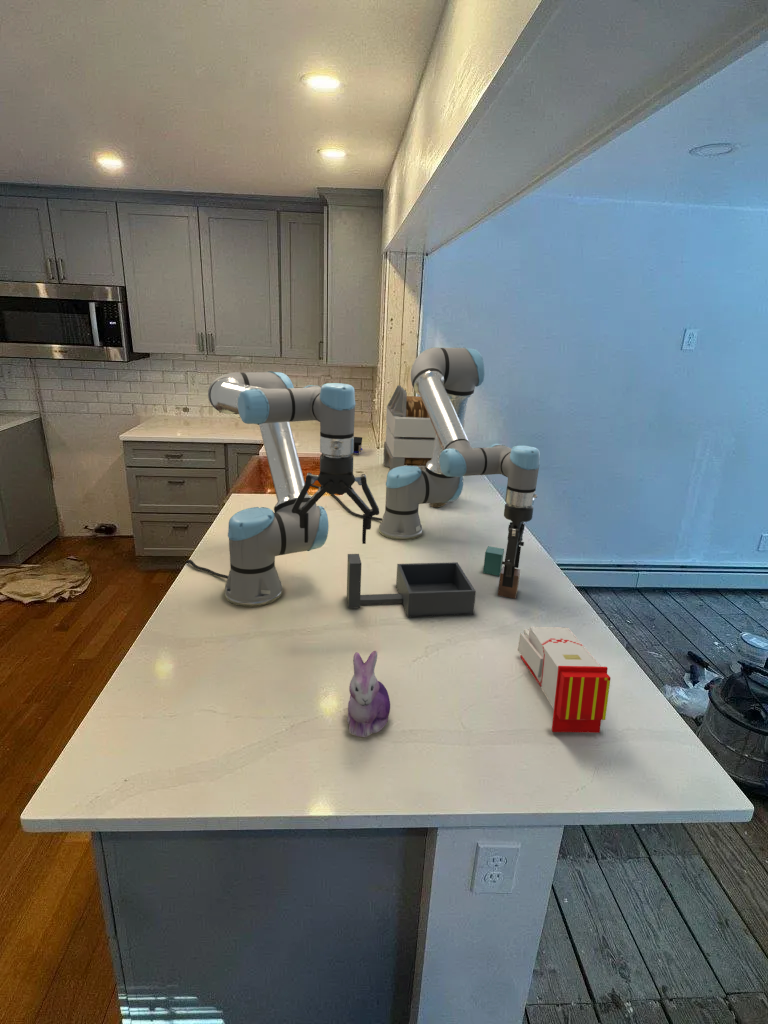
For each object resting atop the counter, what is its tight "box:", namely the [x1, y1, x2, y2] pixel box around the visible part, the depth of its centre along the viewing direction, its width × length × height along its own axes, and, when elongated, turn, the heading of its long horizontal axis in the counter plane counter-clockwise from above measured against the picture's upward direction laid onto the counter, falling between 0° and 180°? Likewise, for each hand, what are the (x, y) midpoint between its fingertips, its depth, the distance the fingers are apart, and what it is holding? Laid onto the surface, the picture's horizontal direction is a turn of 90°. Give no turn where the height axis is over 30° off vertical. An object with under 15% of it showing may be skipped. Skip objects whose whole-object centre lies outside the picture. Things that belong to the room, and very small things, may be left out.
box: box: [346, 553, 477, 618], centre depth 152 cm, size 32×18×13 cm, turn 99°
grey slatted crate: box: [383, 384, 465, 471], centre depth 268 cm, size 34×33×41 cm
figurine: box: [346, 650, 391, 738], centre depth 106 cm, size 9×10×15 cm
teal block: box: [482, 545, 505, 577], centre depth 173 cm, size 5×5×7 cm
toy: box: [517, 626, 611, 734], centre depth 119 cm, size 12×13×30 cm
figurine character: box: [351, 436, 363, 456], centre depth 307 cm, size 7×8×15 cm
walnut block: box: [497, 565, 521, 600], centre depth 160 cm, size 5×5×7 cm
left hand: (335, 541), depth 135 cm, fingers open, 13 cm apart
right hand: (510, 576), depth 159 cm, fingers open, 13 cm apart
